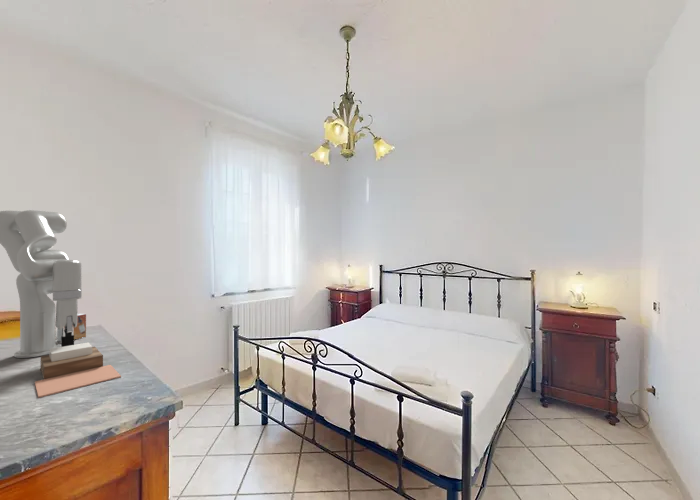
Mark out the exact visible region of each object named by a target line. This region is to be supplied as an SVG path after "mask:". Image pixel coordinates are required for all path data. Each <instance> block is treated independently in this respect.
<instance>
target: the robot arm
mask: <svg viewBox="0 0 700 500" xmlns="http://www.w3.org/2000/svg"><path fill="white" fill-rule="evenodd" d="M67 226H68V225H67V220H66V218H65V217H64V215H62V214H61V213H59V212H55V211H46V210H45V211H44V210H33V209H32V210H30V209H29V210H22V211H21V210H0V245H1V246H2V247H3V248H4V249H5V252H6V254H7V255H8V258H9V260H10V263H11V264H12V266H13V268H14V269H15V271H17V272H18V273H19V274H18V275H17V277H16V279H15V282H16V289H17V292H18V297H19V313H20V314H19V315H20V317H19V324H20V326H19V330H20V331H19V334H20V335H19V337H20V338H19V339H20V340H19V341H20V342H19V344H20V345H19V347H20V349H19V350H17V351H15V352H14V353H13V356H14V358H16V359H28V358H37V357H41V356H46V355H49V349H53V348H58V347H64V346H70V345H75V340H74V328H75V327H76V326H77V317H78V314H79V313H78V300H81V299H82V263H81V261H80V260H77V259H70V258H69V256H68V254H67V253H66V252H64V251H62V250H59V249H52V248H53V247H54V246H55V245H56V244H57V241H58V240H57V239H58V238H57V237H56V235H55V234H61V233H63V232H65V231H66V229H67ZM50 294H52V299H51V297H49V296H48V295H50ZM54 301H55V302H56V303H55V302H54ZM57 328H58V329H59V330H61V328H62V336H61V341H60V343H61V345H60V344H56V343H57V342H56V341H57V336H56V331H57V330H56V329H57Z"/></svg>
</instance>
